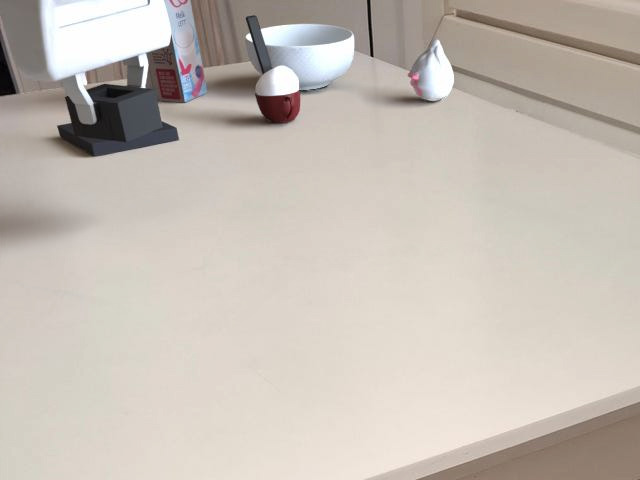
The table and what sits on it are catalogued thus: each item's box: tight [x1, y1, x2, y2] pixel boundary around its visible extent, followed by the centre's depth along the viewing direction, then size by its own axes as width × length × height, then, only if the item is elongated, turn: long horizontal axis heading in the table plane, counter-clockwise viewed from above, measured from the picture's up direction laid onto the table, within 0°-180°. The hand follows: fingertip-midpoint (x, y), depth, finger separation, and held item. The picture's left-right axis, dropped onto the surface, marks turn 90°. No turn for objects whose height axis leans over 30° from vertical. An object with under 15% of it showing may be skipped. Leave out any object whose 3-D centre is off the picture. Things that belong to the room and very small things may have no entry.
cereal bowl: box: [244, 23, 355, 90], centre depth 144 cm, size 17×17×7 cm
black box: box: [64, 83, 163, 142], centre depth 94 cm, size 6×6×4 cm
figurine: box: [407, 38, 455, 99], centre depth 136 cm, size 7×7×8 cm
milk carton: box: [145, 0, 208, 104], centre depth 134 cm, size 7×7×22 cm
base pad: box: [56, 120, 180, 157], centre depth 123 cm, size 12×12×5 cm
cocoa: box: [245, 14, 301, 124], centre depth 127 cm, size 10×6×12 cm, turn 12°
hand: (115, 113), depth 94 cm, fingers closed on black box, 6 cm apart
